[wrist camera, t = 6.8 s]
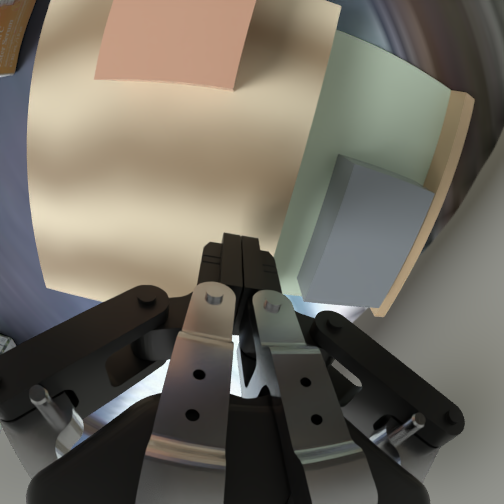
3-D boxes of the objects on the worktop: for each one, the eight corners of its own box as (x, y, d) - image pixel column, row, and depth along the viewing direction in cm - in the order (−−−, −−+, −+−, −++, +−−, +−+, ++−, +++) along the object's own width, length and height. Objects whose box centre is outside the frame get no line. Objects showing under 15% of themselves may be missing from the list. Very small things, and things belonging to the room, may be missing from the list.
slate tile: (435, 193, 14) (413, 180, 16) (354, 164, 13) (338, 153, 15) (379, 308, 18) (367, 287, 20) (303, 301, 17) (296, 278, 19)
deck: (86, 7, 9) (53, -7, 5) (317, 25, 11) (341, 6, 8) (70, 255, 18) (46, 287, 14) (248, 286, 20) (251, 326, 17)
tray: (317, 25, 11) (328, 16, 9) (456, 96, 13) (474, 99, 11) (248, 286, 20) (250, 304, 18) (375, 300, 22) (384, 316, 20)
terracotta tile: (145, -16, 7) (127, -36, 4) (260, -9, 7) (265, -32, 5) (120, 81, 9) (93, 79, 7) (233, 91, 10) (232, 89, 8)
